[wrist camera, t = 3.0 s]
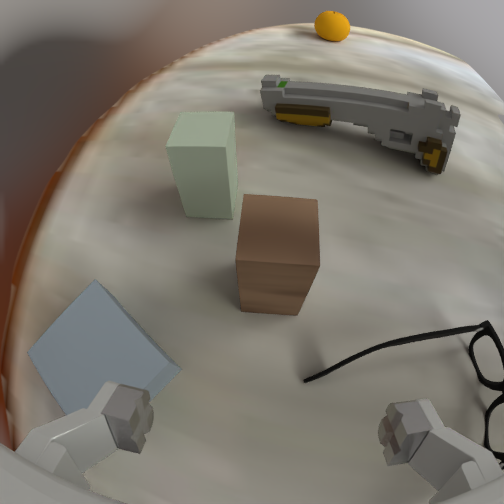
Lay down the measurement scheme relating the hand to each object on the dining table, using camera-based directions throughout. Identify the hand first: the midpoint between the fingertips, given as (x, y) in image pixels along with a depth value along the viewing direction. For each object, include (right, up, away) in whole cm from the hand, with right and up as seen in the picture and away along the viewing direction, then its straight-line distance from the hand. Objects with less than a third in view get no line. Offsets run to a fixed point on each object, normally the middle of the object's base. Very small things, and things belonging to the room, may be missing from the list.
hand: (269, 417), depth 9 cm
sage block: (-4, +11, +21) cm, 24 cm away
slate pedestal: (-12, -4, +13) cm, 18 cm away
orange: (+17, +53, +44) cm, 72 cm away
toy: (+13, +20, +26) cm, 35 cm away
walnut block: (+1, +2, +16) cm, 16 cm away
